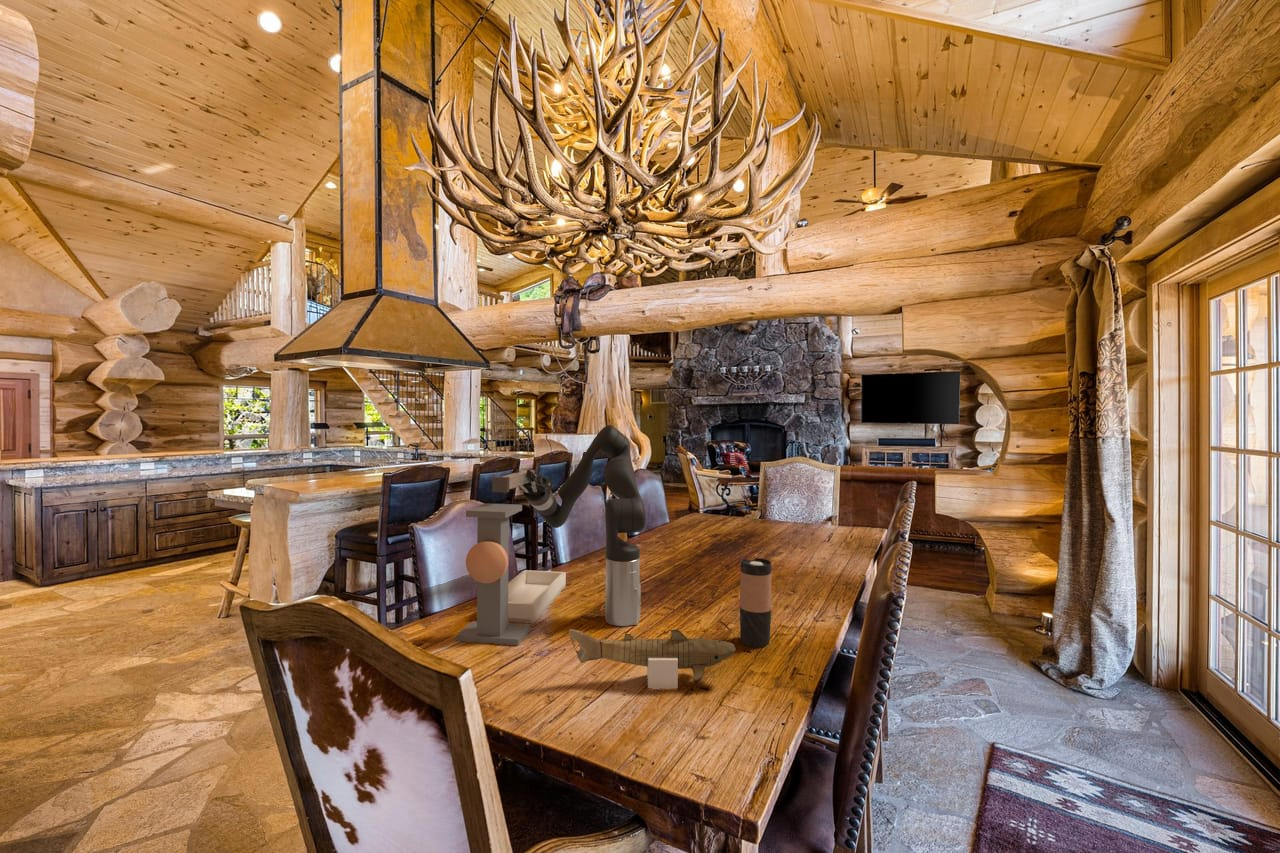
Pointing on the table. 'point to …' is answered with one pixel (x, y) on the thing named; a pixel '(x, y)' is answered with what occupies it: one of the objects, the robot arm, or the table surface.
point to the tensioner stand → (492, 577)
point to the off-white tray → (533, 594)
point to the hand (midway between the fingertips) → (522, 472)
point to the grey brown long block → (509, 481)
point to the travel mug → (755, 602)
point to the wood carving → (656, 654)
